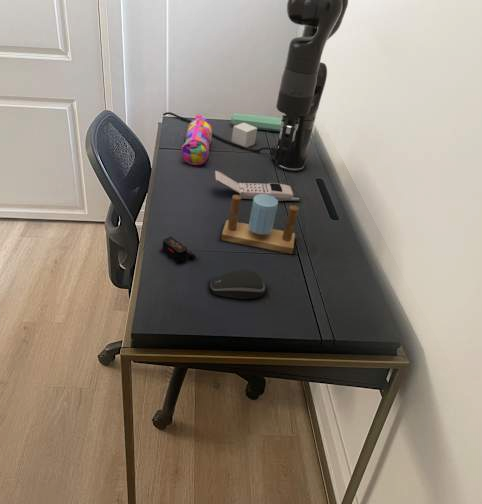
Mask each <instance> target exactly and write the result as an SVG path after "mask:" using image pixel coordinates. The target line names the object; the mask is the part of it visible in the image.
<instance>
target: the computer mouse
mask: <svg viewBox="0 0 482 504" xmlns="http://www.w3.org/2000/svg"><path fill="white" fill-rule="evenodd" d="M209 285H210V290H211V292H212V294H213V295H215V296H218V297H223V298H229V299H238V300H251V299H257V298H260V297H263V296H264V295H265V293H266V285H265V283H264V281H263V279H262V277H261V276H260V275H259V274H258V273H256V272H255V271H253V270H250V269H245V268H241V269H235V270H231V271H229V272H226V273H223V274H220V275H217V276H214V277H212V278H211V280H210V283H209Z"/></svg>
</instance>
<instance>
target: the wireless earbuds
mask: <svg viewBox="0 0 482 504" xmlns="http://www.w3.org/2000/svg"><path fill="white" fill-rule="evenodd" d="M162 251H163V253H165V254H166V255H168V257H170V258H171V259H173V260H174V261H175V262H177V263H183V262H184V261H186V260H187V258H188V259H189V260H191V259H196V255H195V254H194V253H193V251H190V250H188V247H186V246H185V245H184V244H182V243H181V242H179V241H178V240H177V239H176V238H174V237H173V236H168V237H166V238H164V239H162Z"/></svg>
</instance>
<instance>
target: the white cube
mask: <svg viewBox="0 0 482 504" xmlns="http://www.w3.org/2000/svg"><path fill="white" fill-rule="evenodd" d="M232 126H233V125H232ZM257 134H258V129H257V128H256V127H254V126H251V125H249V124H246V123H241V124H239V125H236V126H233V127H232V134H231V139H230V140H231V142H233V143H236V144H239V145H242V146H244V147H247V148H250V147H252V146H254V145H256V139H257Z"/></svg>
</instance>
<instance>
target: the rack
mask: <svg viewBox="0 0 482 504" xmlns="http://www.w3.org/2000/svg"><path fill="white" fill-rule="evenodd" d="M241 203H242V199H241V196H240V194H233V195H232V198H231V203H230V210H229V217H228V219H226V221H225V223H224V226H223V229H222V233H221V239H220V240H221V241H225V242H228V243H229V242H230V243H234V244H240V245H243V246H249V247H254V248H260V249H265V250H269V251H274V252H280V253H285V254H290V255H293V253H294V247H295V239H296V238H295V237H296V233H295V232H294V229H295V224H296V220H297V217H298V213H299V207H298V206H297V205H294V204H293V205H292V204H291V205H290V206H289V207H288V211H287V215H286V220H285V225H284V228H283V230H281V229H275V228H273V229H272V232H271V233H269V234H264V235H261V234H256V233H254V232H252V231H251V230H250V229H249V227H248V226H249V223H245V222H239V221H238V220H239V215H240V209H241Z"/></svg>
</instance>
